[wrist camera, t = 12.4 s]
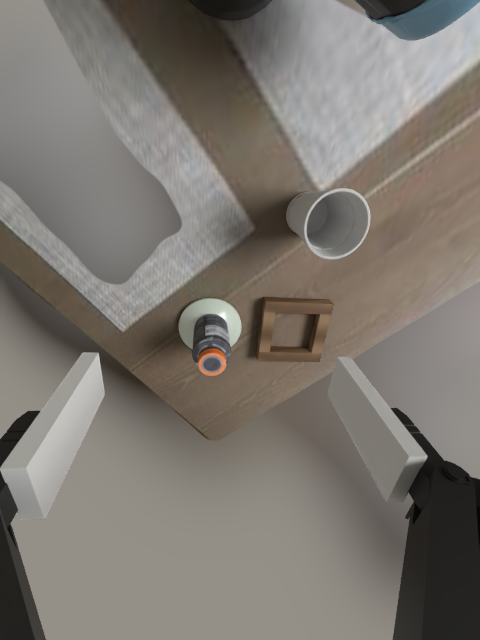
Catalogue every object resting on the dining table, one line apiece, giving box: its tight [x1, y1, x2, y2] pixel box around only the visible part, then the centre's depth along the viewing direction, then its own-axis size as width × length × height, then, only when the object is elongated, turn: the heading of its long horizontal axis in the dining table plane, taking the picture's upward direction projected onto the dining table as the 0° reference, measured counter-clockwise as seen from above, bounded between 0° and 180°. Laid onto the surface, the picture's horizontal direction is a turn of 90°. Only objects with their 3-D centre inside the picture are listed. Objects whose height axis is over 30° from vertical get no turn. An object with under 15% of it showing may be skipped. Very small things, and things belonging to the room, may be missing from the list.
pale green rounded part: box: [179, 297, 241, 349], centre depth 51 cm, size 11×11×1 cm
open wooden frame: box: [256, 297, 334, 362], centre depth 52 cm, size 12×12×2 cm
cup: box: [286, 188, 370, 259], centre depth 39 cm, size 8×8×12 cm
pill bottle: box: [192, 314, 231, 376], centre depth 46 cm, size 6×6×11 cm
